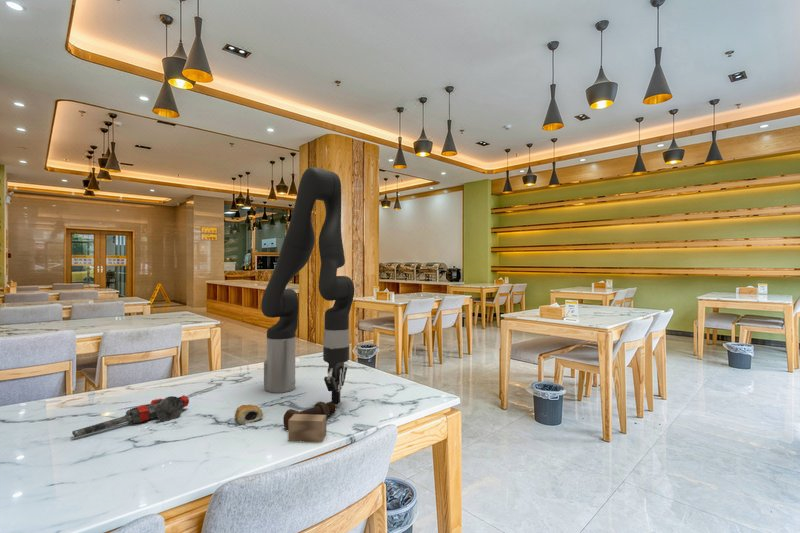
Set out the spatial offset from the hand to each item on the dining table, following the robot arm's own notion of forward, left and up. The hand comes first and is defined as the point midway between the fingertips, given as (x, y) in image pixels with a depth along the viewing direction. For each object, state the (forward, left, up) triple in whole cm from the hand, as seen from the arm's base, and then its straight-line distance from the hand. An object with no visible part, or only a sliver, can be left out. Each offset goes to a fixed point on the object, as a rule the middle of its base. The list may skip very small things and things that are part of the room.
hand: (335, 403), depth 115 cm
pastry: (-20, -13, -1) cm, 24 cm away
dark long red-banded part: (-49, -20, -2) cm, 53 cm away
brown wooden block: (0, -21, -1) cm, 21 cm away
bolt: (-2, -12, -1) cm, 12 cm away
